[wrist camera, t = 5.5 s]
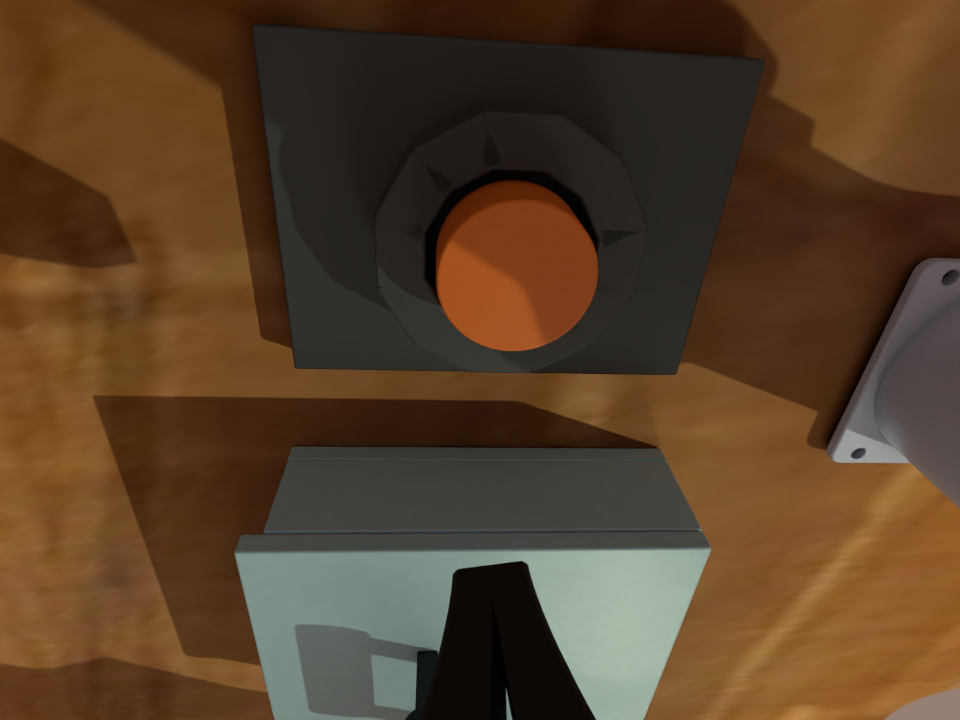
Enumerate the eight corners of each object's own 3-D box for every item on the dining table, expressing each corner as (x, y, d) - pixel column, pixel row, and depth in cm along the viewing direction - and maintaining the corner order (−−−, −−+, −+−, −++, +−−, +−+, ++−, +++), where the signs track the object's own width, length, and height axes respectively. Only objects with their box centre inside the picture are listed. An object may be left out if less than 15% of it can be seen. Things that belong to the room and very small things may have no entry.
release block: (747, 57, 14) (814, 64, 12) (666, 360, 19) (701, 413, 16) (262, 23, 13) (220, 24, 11) (301, 353, 18) (278, 408, 15)
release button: (592, 182, 13) (612, 203, 12) (570, 320, 15) (585, 354, 13) (437, 175, 13) (437, 195, 11) (434, 317, 15) (434, 351, 13)
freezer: (324, 677, 27) (308, 770, 24) (291, 445, 20) (262, 532, 16) (596, 670, 28) (617, 757, 25) (660, 448, 21) (703, 529, 18)
